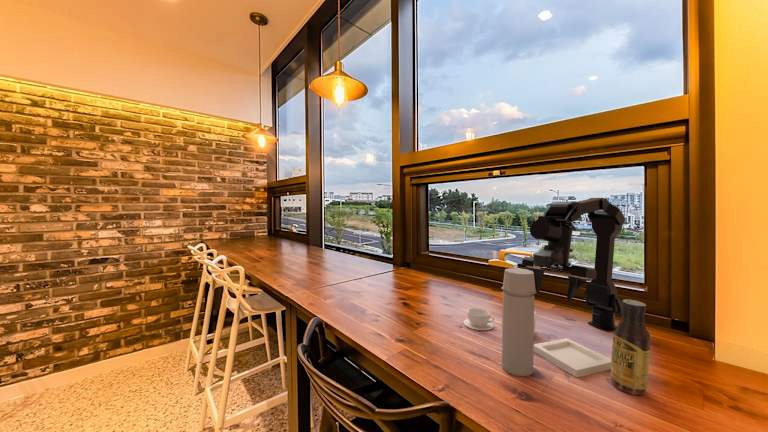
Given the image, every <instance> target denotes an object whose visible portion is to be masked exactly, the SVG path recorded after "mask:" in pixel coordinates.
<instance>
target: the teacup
mask: <svg viewBox="0 0 768 432" xmlns="http://www.w3.org/2000/svg"><path fill="white" fill-rule="evenodd" d="M466 313H467V318H466V319H464V321H463V324H464V326H466V327H467V328H469V329H472V330H477V331H489V330H492V329H493V328H494V327H495V326H494V324H493V323H494V320H495V317H494V316H493V315H491V313H490V311H488V310H486V309H483V308H478V307H474V308H468V309H467V311H466ZM490 319H492V320H491V321H490Z"/></svg>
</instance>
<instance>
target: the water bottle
mask: <svg viewBox="0 0 768 432" xmlns="http://www.w3.org/2000/svg"><path fill="white" fill-rule="evenodd" d="M500 289H502V318H501V319H502V320H501V321H502V322H501V323H502V324H501V326H502V328H501V366H502V368H503V369H504V370H505V372H506V373H509V374H510V375H512V376H517V377H523V378H524V377H529V376H531V374H532V373H533V372H534V352H533V346H534V341H535V340H534V339H535V338H534V337H535V332H534V311H535V294H537V292H536V289H535V280H534V272H533V271H530V270H528V269H526V268H525V269H524V268H517V267H516V268H515V267H510V268H505V269H504V274H503V283H502V287H500Z"/></svg>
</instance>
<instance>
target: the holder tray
mask: <svg viewBox="0 0 768 432" xmlns="http://www.w3.org/2000/svg"><path fill="white" fill-rule="evenodd" d="M533 353H535V354H537V355H539V356H540V357H542V358H543V359H545V360H547V361H548V362H550V363H552V364H554V365H555V366H556V367H559V368H560V369H562V370H563V371H565V372H567V373H568V374H570V375H571V374H572V375H571V376H573V377H574V378H576V377H577V378H580V377H579V376H581V377H585V376H589V375H593V374H598V373H602V372H605V371H608V370H609V371H610V370H611V361H612V358H609V357H607V356H604V355H602V354H601V353H598V352H597V351H594V350H592V349H590V348H588V347H586V346H583V345H582V344H581V343H578V342H575V341H574V340H571V339H569V338H567V337H565V338H561V339H555V340H550V341H544V342H539V343H535V344H534V346H533ZM584 375H585V376H584Z"/></svg>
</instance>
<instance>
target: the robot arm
mask: <svg viewBox="0 0 768 432" xmlns="http://www.w3.org/2000/svg"><path fill="white" fill-rule="evenodd" d="M586 214H587V215H586ZM582 215H586V216H587V218H588V220H589V221H590V223H591V229H592V231H593V232H594V233H595V236H596V241H595V242H596V245H595V255H594V256H595V257H594V259H595V260H594V267H588V266H582V265H574V264H572V263H571V262H570V253H573V250H574V249H573V248H572V247H571V245H572V238H573V231H574V232H576V231H577V228H576V226H575V225H574V224H573V222H576V221H578V220H579V219H581V218H582ZM624 224H625V215H624V213H623V212H622V210H621V209H620V208H619V207H618V206H616V205H614V204H612V203H610V202H609V200H608V199H607V198H604V197H590V198H587V199H582V200H578V201H556V202H555V201H552V202H551V203H550V204H549V206H548V207H547V209H546V210H545V212H544V213H543V214H542V215H538V216H537V219H536V220H534V221H533V222H532V223H531V225H530V227H529V233H530V236H531V237H532V238H534V239H536V240H539V241H545V242H547V244H544V246H543V250H539V251H536V252H534V253H532V256H531V257H530V256H524V258H522V261H521V265H522V266H524V268H525V269H526V270H530V271H533V272H534V280H535V291H536V293H540V291H541V288H542V283H543V280H544V274H545V269H549V270H556V271H560V272H563V273H564V272H565V273H570V275H567V279H568V287H567V288H568V289H567V294H566V301H567V302H571V301H572V300H573V298H574V296H575V295H576V294H577V292H578V291H579V290H580V288H581V287H582V286H583V285H585V291H584V299H585V302H586V306H587V307H591V308H592V312H591V313H592V315H591V321H587V324H588V325H591V326H593V327H595V328H598V329H600V330H603V331H606V332H610V331H615V330H616V328H617V326H618V325H616V314H622V310H623V307H622V301H621V299H620V298H619V296H618V288H617V286H616V285H615V283H614V282H613V280H612V278H613V269H614V268H613V267H614V266H613V265H614V254H615V240H616V239H615V238H616V237H617V236H618V235H619V234H620V232H622V231H623V225H624ZM543 268H545V269H543Z"/></svg>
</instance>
